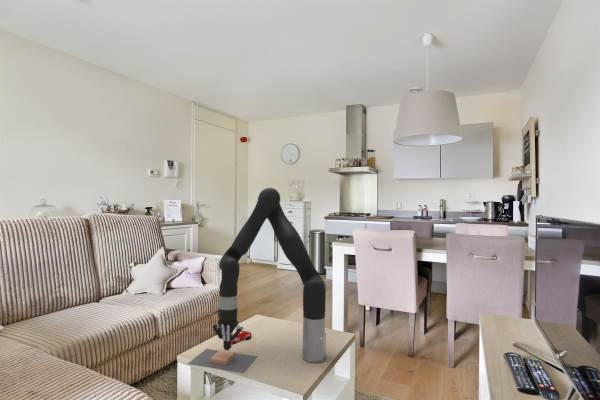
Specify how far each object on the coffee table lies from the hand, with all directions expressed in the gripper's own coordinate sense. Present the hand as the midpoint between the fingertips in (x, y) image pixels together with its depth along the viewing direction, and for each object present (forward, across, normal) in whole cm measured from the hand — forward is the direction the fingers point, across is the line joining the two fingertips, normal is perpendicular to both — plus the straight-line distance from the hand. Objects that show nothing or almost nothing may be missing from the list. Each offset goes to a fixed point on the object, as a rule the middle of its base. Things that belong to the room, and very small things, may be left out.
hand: (227, 349), depth 131 cm
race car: (+6, +4, -20) cm, 21 cm away
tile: (+4, -2, 0) cm, 4 cm away
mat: (+5, +2, 0) cm, 5 cm away
